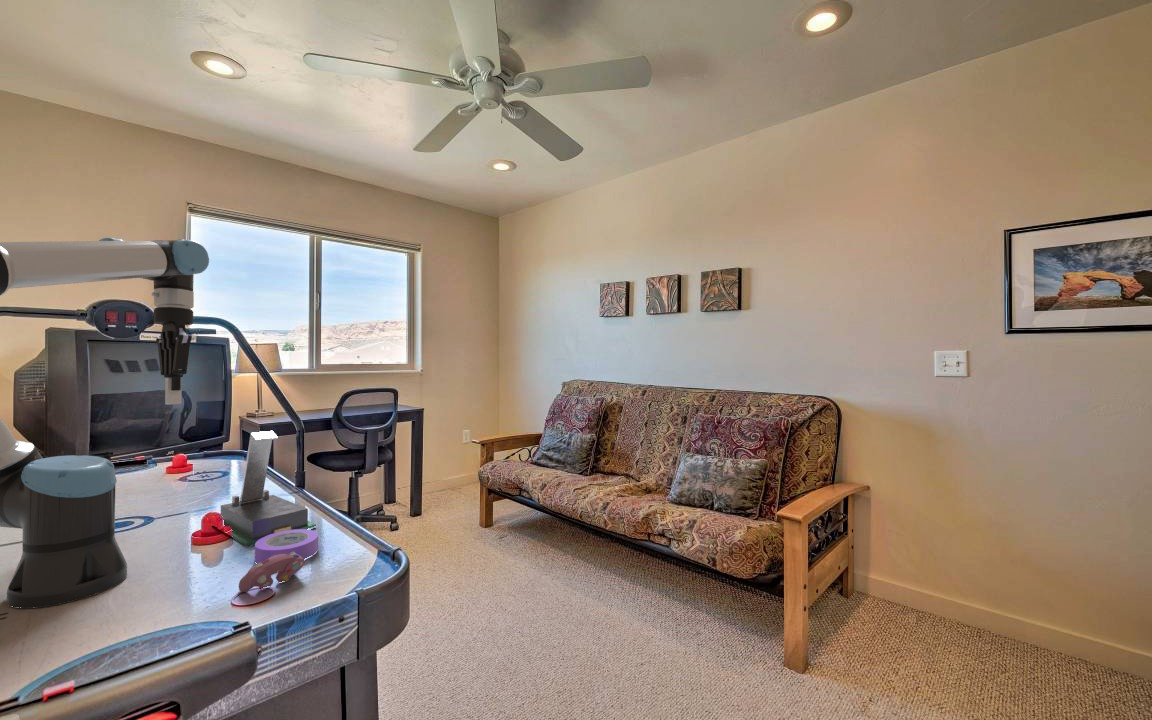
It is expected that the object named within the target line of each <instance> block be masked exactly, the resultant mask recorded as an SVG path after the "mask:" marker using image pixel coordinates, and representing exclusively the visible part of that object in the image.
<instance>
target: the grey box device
mask: <svg viewBox="0 0 1152 720" xmlns="http://www.w3.org/2000/svg"><path fill="white" fill-rule="evenodd" d="M231 501H232V502H231V503H226V504H221V505H220V516H221V515H222V516H223V520H224V525H225V526H230V527H232V530H233V531H232V536H233V538H234V539H233V538H232V539H233V540H235V539H236V540H237V541H236V540H235V541H236V542H238V541H239V542H238V543H239V544H241V543H242V544H241V545H243V546H245V547H246V546H248V547H251V546H250V545H252V546H255V545H254V544H255V543H256V542H257V541H258V540H259V539H261V538H263V537H265V536H267V535H270V534H273V533H277V532H281V531H287V530H295V529H308V528H311V527H314V526H316V527H317V524H316V523H313V522H311V521H310V520H309V515H308V514H309V509H308V508H307V507H304V506H302V505H299V504H296V503H294V502H292V501H289V500H287V499H284V498H282V497H280V496H277V495H274V494H270V491H269V489H264V491H263V497H262V499H258V500H253V501H248V502H244V503H240V495H232V499H231Z"/></svg>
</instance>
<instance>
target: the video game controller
mask: <svg viewBox="0 0 1152 720" xmlns="http://www.w3.org/2000/svg"><path fill="white" fill-rule="evenodd" d="M305 562H306V560H305V561H304V559H303V558H302V557H301V556H300V555H298V554H296V553H295V552H291V553H290V554H278V555H274V556H272V557H270V558H268V559H267V560H265V561H263V562H262V563H257V564H254V566H252V567H251V568H250V569H249V570H248V571H247V572H246V573H245V575H244V576H242V578H240V580H239V582H238V590H239V591H240V592H241V593H246V591H247V592H249V591H251V589H253V588H254V587H256V588H259V589H260V588H263V587H267V586H270V587H272V585H273V583H274V579H273V578H272V576H273V575H275V574H276V575H275V579H276V581H277V582H278V583H279V582H282V581H286V580H288V579H289V580H290V579H291V577H292V576H293V575H294V574H297V573H298V572H299V570H301V569H302V567H304V565H305ZM289 580H288V581H289ZM286 582H287V581H286Z"/></svg>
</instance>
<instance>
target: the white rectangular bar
mask: <svg viewBox="0 0 1152 720" xmlns="http://www.w3.org/2000/svg"><path fill="white" fill-rule="evenodd" d="M278 439H279V438H278V436H277V434H276V433H275V432H274V431H273V430H270V431H259V432H251V433H250V436H249V442H248V447H247V448H248V450H247V454H246V461H245V468H244V473H243V480H242V487H241V491H240V496H239V502H240V503H244V502H248V501H253V500H258V499H262V497H263V491H264V490H265V485H266V484H265V483H266V479H267V473H268V468H269V467H268V466H269V459H270V453H271V449H272V443H273V440H278Z"/></svg>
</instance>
